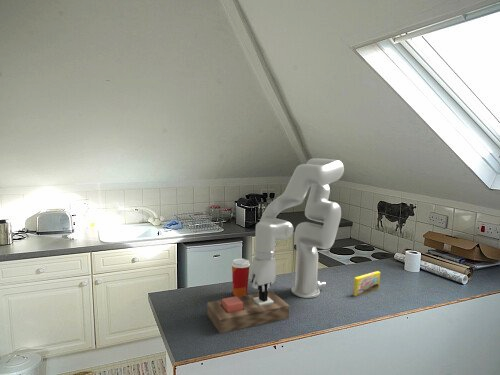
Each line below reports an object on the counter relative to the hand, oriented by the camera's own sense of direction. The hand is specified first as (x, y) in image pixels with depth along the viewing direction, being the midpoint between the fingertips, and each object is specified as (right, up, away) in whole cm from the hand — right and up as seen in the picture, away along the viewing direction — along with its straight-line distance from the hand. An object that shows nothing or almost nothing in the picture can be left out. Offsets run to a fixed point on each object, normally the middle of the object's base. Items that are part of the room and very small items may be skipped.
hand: (263, 299), depth 141 cm
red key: (-12, -2, -5) cm, 13 cm away
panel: (-6, -6, -2) cm, 9 cm away
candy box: (+47, -4, +23) cm, 53 cm away
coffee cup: (-10, -3, +17) cm, 20 cm away
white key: (0, -3, +1) cm, 3 cm away
